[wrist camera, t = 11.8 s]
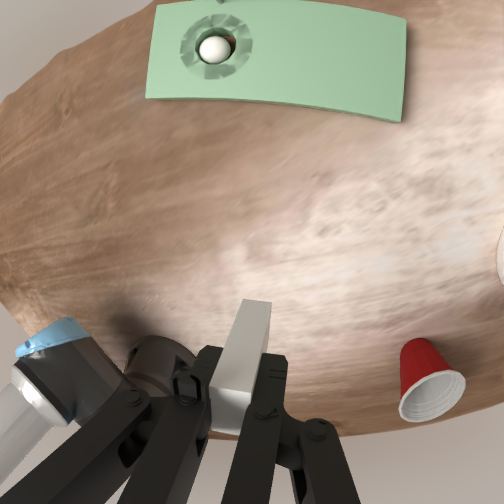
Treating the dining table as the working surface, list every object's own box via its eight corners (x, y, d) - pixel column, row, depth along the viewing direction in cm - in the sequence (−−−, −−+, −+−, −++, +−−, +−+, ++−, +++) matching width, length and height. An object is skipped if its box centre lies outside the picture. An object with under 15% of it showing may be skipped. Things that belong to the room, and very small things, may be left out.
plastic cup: (430, 376, 48) (446, 424, 37) (378, 371, 49) (387, 423, 38) (454, 328, 44) (479, 374, 33) (400, 321, 45) (417, 371, 34)
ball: (223, 67, 38) (194, 65, 36) (225, 41, 36) (197, 38, 34) (233, 63, 34) (202, 60, 33) (236, 35, 33) (205, 31, 31)
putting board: (157, 100, 40) (145, 98, 36) (168, 13, 35) (157, 5, 31) (392, 122, 36) (400, 121, 32) (398, 27, 30) (406, 19, 27)
